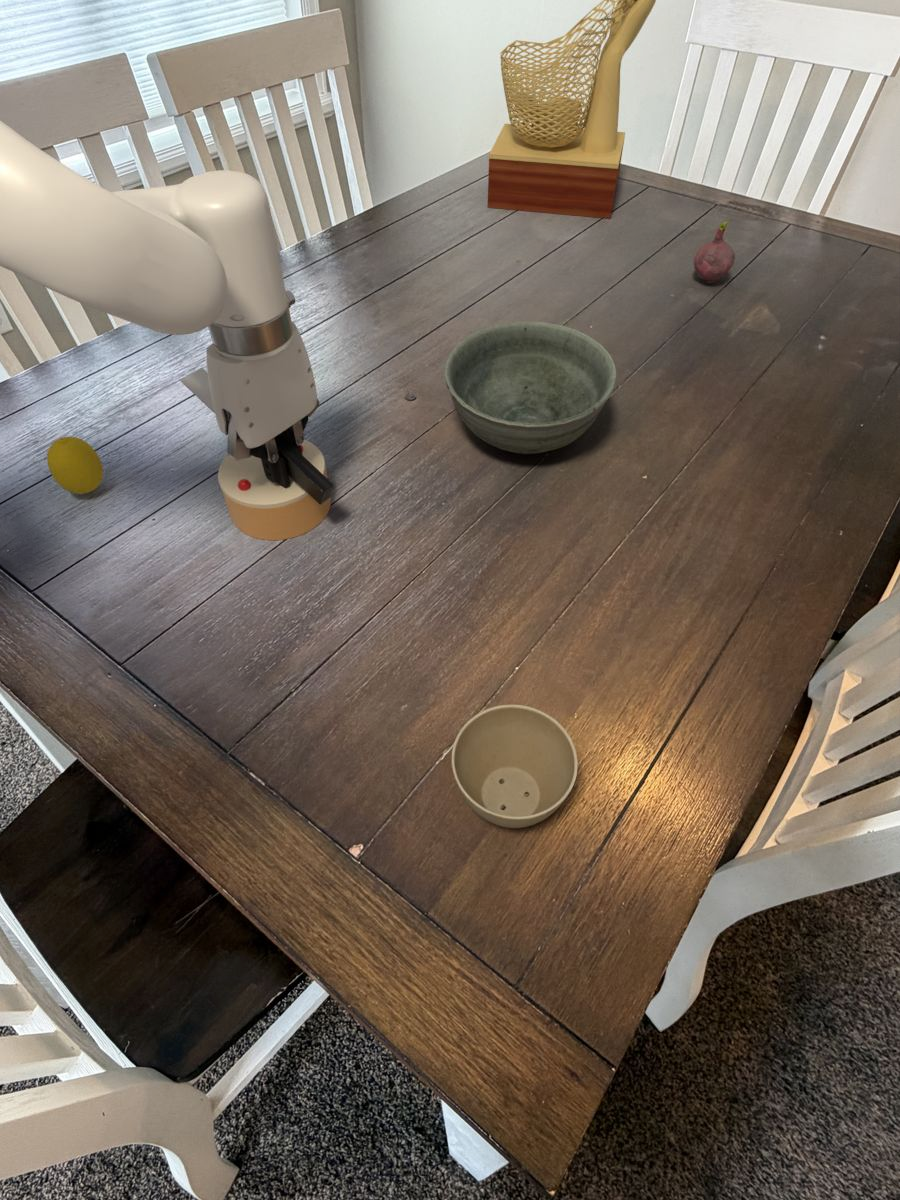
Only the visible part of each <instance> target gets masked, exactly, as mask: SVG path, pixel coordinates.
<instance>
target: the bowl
mask: <svg viewBox="0 0 900 1200" xmlns="http://www.w3.org/2000/svg"><path fill="white" fill-rule="evenodd" d="M443 364H444V365H443V378H444V381H445V385H446V387H447V389H448V392H449V394H450V398H451V400H452V402H453V405H454V407H455V409H456V412H457V413H458V416H459V417H460V418H461V420H462V422H463V423H464V425H465V426H466V427H467V428H468V429H469V430H470V432H472V433H473V435H475V436H476V437H477V438H479V439H481V440H482V441H484V442H485V443H486V444H488V445H490V446H493V447H495V448H497V449H500V450H502V451H506V452H510V453H513V454H516V455H535V454H542V453H544V452H545V453H547V452H551V451H555V450H557V449H561V448H563V447H566V446H568V445H570V444H571V443H572V442H574V441H576V440H577V439H578V438H580V437H581V436H582V435H583V434H585V432H587V430H588V429H589V428H590V427H591V426H592V424H593V423H594V422H595V421H596V420H597V419H598V416H599V415H600V413H601V411H602V410H603V408H604V406H605V404H606V402H608V400H609V399H610V397H611V396H612V394H613V392H614V391H615V387H616V382H617V371H616V364H615V362H614V359H613V357H612V355H611V354H610V353H609V352H608V350H607V349H605V347H604V346H603V345H602V344H600V343H599V342H598V341H596V340H595V339H594V338H592V337H591V336H589V335H587V334H586V333H583V332H581V331H579V330H577V329H575V328H574V329H573V328H571V327H568V326H565V325H561V324H556V323H550V322H546V321H532V320H531V321H513V322H505V323H501V324H495V325H492V326H488V327H484V328H482V329H480V330H477V331H475V332H473V333H471V334H469V335H468V336H466V337H465V338H464V339H462V340H461V341H459V342H458V343H457V344H456V345H455V347H454V348H453V349H452V350H451V352H450V353H449V354H448V355H447V358H446V360H445V363H443Z"/></svg>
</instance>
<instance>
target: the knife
mask: <svg viewBox="0 0 900 1200" xmlns="http://www.w3.org/2000/svg"><path fill="white" fill-rule="evenodd" d="M180 382H181V384H183V385H184V386H185V387H186V388H187V389H188V390H189V391H190V392H191V393H192V394H193V395H195V396H196V397H197V399H199V400H200V401H201V402H202V403H203V404H204V405H205V406H206V407H207V408H208V409H209V410H210V411H211V412H212V413H214V414H215V411H214V406H213V402H212V397H211V392H210V386H209V380H208V372H207V371H206V370H205V368H203V367H200V368H199V369H197V370H195V371H193V372H191V373H190V374H188V375H186V376H185V377H183V378H181V379H180ZM274 439H275V442H276V446H277V450H278V453H279V456H281V457H282V458H283V459H284V460H285V464H286V468H287V473H288V475H289V476H290V477H291V478H292V479H293V480H294V481H295V482H296V483H297V484H298V485H300V486H301V487H302V488H303V489H304V490H305V491H306V492H307V493H308V494H309V495H310V496H311V497H312V498H313V499H314V500H315V501H316V502H318V503H319V504H320V505H321V504H322V503H324V502H325V501H326V500H327V499H329V498H330V497H331V498H332V492H333V488H334V483H333V482H332V481H331V480H329V478H328V479H327V478H326V477H325V476H324V475H323V474H322V473H321V472H320V471H319V470H318V469H317V468H315V467H314V466H313V465H312V464H311V463H310V462H309V461H308V460H307V459H306V458H305V457H304V456H303V455H302V454H301V453H299V452H298V451H297V450H296V449H295V448H294V447H293V446H292V445H291V444H290V443H289V442H288V441H287V440H286V439H285V438H283V437H282V436H281V435H280V434H278V435H277V436H275V437H274Z"/></svg>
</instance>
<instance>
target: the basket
mask: <svg viewBox="0 0 900 1200" xmlns="http://www.w3.org/2000/svg"><path fill="white" fill-rule="evenodd" d="M656 2H657V0H602V1H601V2H600V3H598V4H596V5H595V6H594V7H593V8H592V9H591V10H590V11H588V13H586V15H584V16H583V17H582V18H581V19H579V21H578V22H577V23H576V24H575V25H574V26H573V27H572V28H571V29H570V30H568V32H566V33H565V34H564V35H562V36H559V37H557V38H554V39H552V40H549V41H547V42H544V43H543V42H534V41H527V40H519V39H516V40H514V41H513V42H511V43H510V44H508V45H506V47H504V48H503V50H501V51H500V53H499V54H500V71H501V78H502V85H503V91H504V98H505V102H506V108H507V113H508V119H509V123H504V125H503V126H502V128H501V130H500V132H499V134H498V136H497V138H496V140H495V142H494V143H493V146H492V147H491V149H490V151H489V154H488V176H487V177H488V178H487V180H488V182H487V208H489V209H497V210H498V209H499V210H508V211H509V210H511V211H520V212H521V211H523V212H531V213H532V212H533V213H545V214H554V215H565V216H567V215H568V216H575V217H576V216H577V217H587V218H598V219H611V216H612V211H613V206H614V202H615V197H616V192H617V187H618V182H619V175H620V170H621V162H622V157H623V151H624V144H625V137H626V131H618V129H619V128H618V127H619V113H620V111H619V110H620V93H621V68H622V60H623V57H624V55H625V53H626V52H627V51H628V49H629V48H630V47H631V45H632V44H633V43H634V41H635V40H636V38H637V37H638V35H639V33H640V31H641V30H642V28H643V26H644V24H645V22H646V21H647V19H648V17H649V15H650V14H651V12H652V10H653V8H654V6H655V5H656ZM609 3H610V4H609ZM603 4H604V5H603ZM608 4H609V5H608ZM607 5H608V6H607ZM606 6H607V7H606ZM601 7H602V8H601ZM605 7H606V8H605ZM610 7H612V8H611V9H610V11H608V12H607V10H608V9H609V8H610ZM595 14H596V15H595ZM594 15H595V16H594ZM603 15H605V16H603ZM593 16H594V17H593ZM598 16H599V18H598V19H597V17H598ZM592 17H593V18H592ZM587 21H588V22H587ZM605 21H606V24H604V22H605ZM592 22H594V23H593V24H592V25H591V26H590V27H589V28H588V29H586V27H587V26H588V25H590V24H591V23H592ZM597 24H598V26H596V25H597ZM595 26H596V27H595ZM594 27H595V28H594ZM600 27H601V29H600V30H598V29H599V28H600ZM606 27H607V28H606ZM582 31H584V32H583V33H582V34H581V32H582ZM576 33H577V34H576ZM575 34H576V35H575ZM580 34H581V35H580ZM600 34H601V35H600ZM574 35H575V37H574ZM579 35H580V36H579ZM607 36H608V37H607ZM596 37H598V39H597V40H596V41H594V40H595V39H596ZM572 38H573V40H572ZM606 38H607V39H606ZM570 40H572V41H571V42H570ZM605 40H606V41H605ZM569 42H570V43H569ZM598 42H599V43H598ZM517 43H518V44H517ZM603 43H604V45H603ZM530 44H532V45H530ZM554 44H555V45H554ZM562 44H563V45H562ZM552 45H554V46H552ZM561 45H562V46H561ZM602 45H603V47H602ZM537 46H538V47H540V48H536V47H537ZM522 47H526V48H524V49H523V48H522ZM594 47H595V48H594ZM601 47H602V49H601ZM593 48H594V49H593ZM530 49H533V51H531V52H529V51H528V50H530ZM544 49H548V50H546V51H545V52H543V51H541V50H544ZM554 49H556V50H555V51H553V52H552V50H554ZM511 50H512V51H511ZM516 50H520V51H519V52H515V51H516ZM561 50H562V51H561ZM590 51H591V52H590ZM537 52H538V53H539V54H535V53H537ZM588 52H589V53H588ZM522 53H526V54H525V55H522ZM587 53H588V54H587ZM508 54H509V56H508ZM553 55H554V56H553ZM517 56H518V57H517ZM529 56H531V57H529ZM542 56H545V57H542ZM537 58H538V60H536V59H537ZM582 58H583V59H582ZM592 58H593V59H592ZM523 59H524V60H523ZM581 59H582V60H581ZM586 59H587V61H586ZM552 60H553V61H552ZM517 61H518V63H516V62H517ZM529 61H532V62H529ZM542 61H544V62H542ZM584 61H586V62H584ZM523 64H524V65H523ZM567 64H568V65H567ZM573 64H574V65H573ZM566 65H567V66H566ZM572 65H573V66H572ZM588 66H589V67H588ZM578 67H580V69H579V68H578ZM583 69H586V71H585V72H583V71H582V70H583ZM578 75H580V76H578ZM586 76H588V77H587V78H586ZM583 78H584V81H581V80H582V79H583ZM570 79H571V80H570ZM588 82H590V83H588ZM570 85H572V86H571V87H570ZM585 86H586V88H585ZM581 88H582V89H581ZM573 89H575V91H574V90H573ZM580 89H581V90H580ZM586 91H587V93H586ZM569 93H571V94H569ZM573 96H574V97H573ZM572 97H573V98H572ZM585 101H586V102H585ZM583 108H584V109H583ZM521 121H522V122H521Z"/></svg>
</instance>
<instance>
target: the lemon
mask: <svg viewBox="0 0 900 1200" xmlns="http://www.w3.org/2000/svg"><path fill="white" fill-rule="evenodd" d="M46 453H47V454H46V456H47V457H46V461H47V467H48V470H49V472H50V474H51V476H52V478H53V480H54V481H55V482H56V483H57V484H58V485H59V486H60V487H61V488H62V489H64V490H65V491H67V492H70V493H73V494H77V495H83V494H90V493H91V492H92V491H95V490H96V489H97V488H98V487H99V486H100V484H101V482H102V481H103V477H104V467H103V464H102V460H101V457H100V456H99V454H98V453H97V452H96V450H95V449H94V448H93V447H92V445H90V444H89V443H88V442H87V441H85V440H83V439H82V438H79V437H75V436H63V437H59V438H57V439H56V440H54V441H53V442H52V444H51V445H50V446H49V448H48V450H47V452H46Z"/></svg>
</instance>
